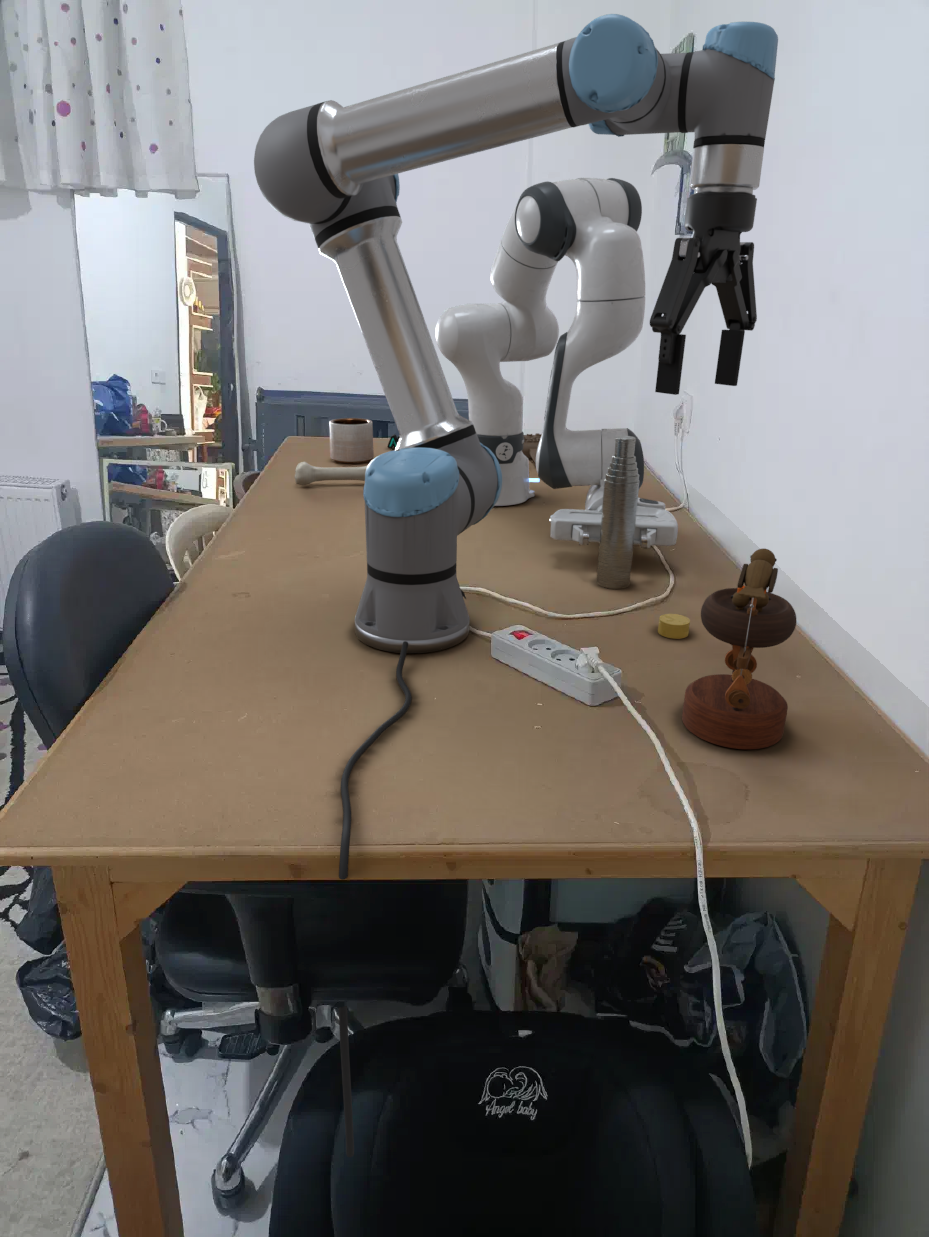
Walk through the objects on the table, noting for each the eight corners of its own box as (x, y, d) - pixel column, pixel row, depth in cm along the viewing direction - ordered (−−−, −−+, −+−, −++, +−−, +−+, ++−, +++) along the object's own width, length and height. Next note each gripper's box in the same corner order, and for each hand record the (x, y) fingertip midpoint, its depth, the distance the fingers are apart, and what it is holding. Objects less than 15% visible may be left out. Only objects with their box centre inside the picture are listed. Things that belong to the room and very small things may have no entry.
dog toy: (385, 480, 194) (384, 458, 192) (387, 486, 188) (386, 464, 186) (295, 482, 191) (294, 460, 189) (294, 488, 185) (293, 465, 183)
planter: (327, 456, 217) (325, 418, 214) (369, 454, 220) (368, 417, 217) (334, 465, 208) (332, 425, 204) (377, 463, 211) (376, 424, 207)
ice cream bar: (497, 468, 207) (497, 451, 206) (489, 446, 233) (489, 431, 231) (582, 468, 208) (583, 451, 207) (564, 447, 234) (565, 431, 232)
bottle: (623, 591, 129) (637, 441, 120) (591, 585, 131) (603, 438, 122) (633, 581, 133) (647, 436, 124) (602, 575, 135) (614, 433, 127)
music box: (804, 761, 84) (822, 570, 76) (690, 761, 85) (697, 574, 78) (770, 691, 98) (782, 524, 90) (673, 692, 99) (677, 527, 92)
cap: (694, 636, 113) (696, 623, 112) (668, 640, 112) (669, 626, 111) (677, 625, 116) (679, 612, 116) (652, 629, 115) (653, 615, 114)
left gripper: (745, 202, 105) (721, 378, 113) (630, 184, 88) (611, 393, 96) (804, 200, 100) (774, 384, 108) (693, 181, 83) (668, 401, 91)
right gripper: (551, 496, 143) (548, 518, 131) (674, 502, 141) (683, 525, 128) (549, 532, 146) (546, 557, 133) (669, 538, 143) (678, 564, 131)
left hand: (697, 389), depth 102 cm, fingers open, 13 cm apart
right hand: (614, 541), depth 131 cm, fingers open, 8 cm apart
